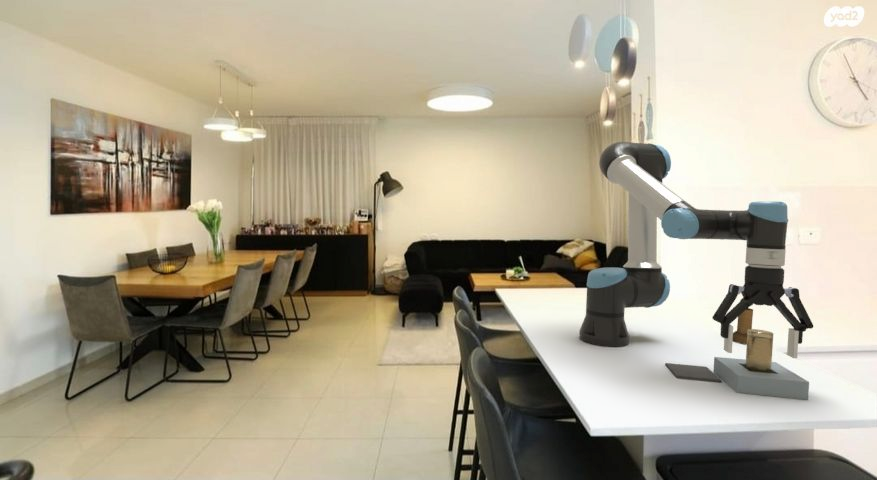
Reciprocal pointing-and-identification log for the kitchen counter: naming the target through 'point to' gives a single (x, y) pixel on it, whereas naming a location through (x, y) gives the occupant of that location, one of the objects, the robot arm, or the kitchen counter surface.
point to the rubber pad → (692, 372)
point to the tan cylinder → (759, 351)
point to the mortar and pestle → (743, 325)
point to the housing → (761, 379)
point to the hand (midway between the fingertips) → (759, 354)
